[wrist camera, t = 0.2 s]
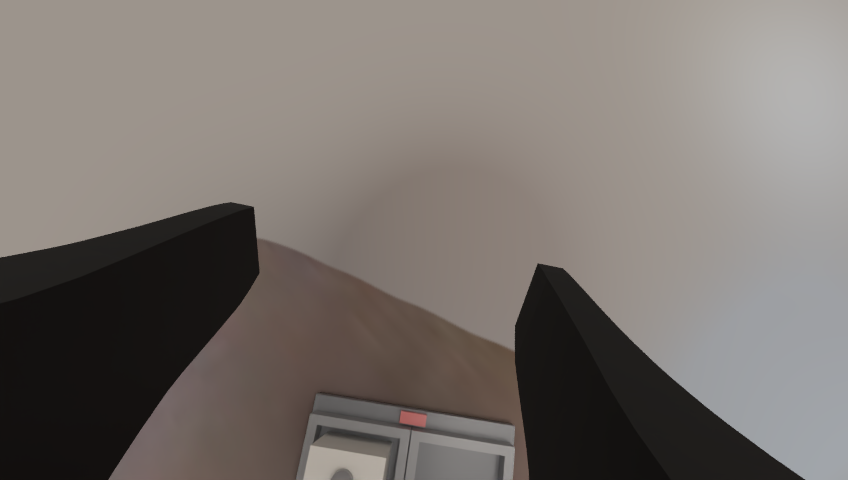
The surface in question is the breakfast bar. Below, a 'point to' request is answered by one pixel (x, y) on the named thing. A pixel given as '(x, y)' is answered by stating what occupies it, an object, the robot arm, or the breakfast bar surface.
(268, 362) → the breakfast bar surface
